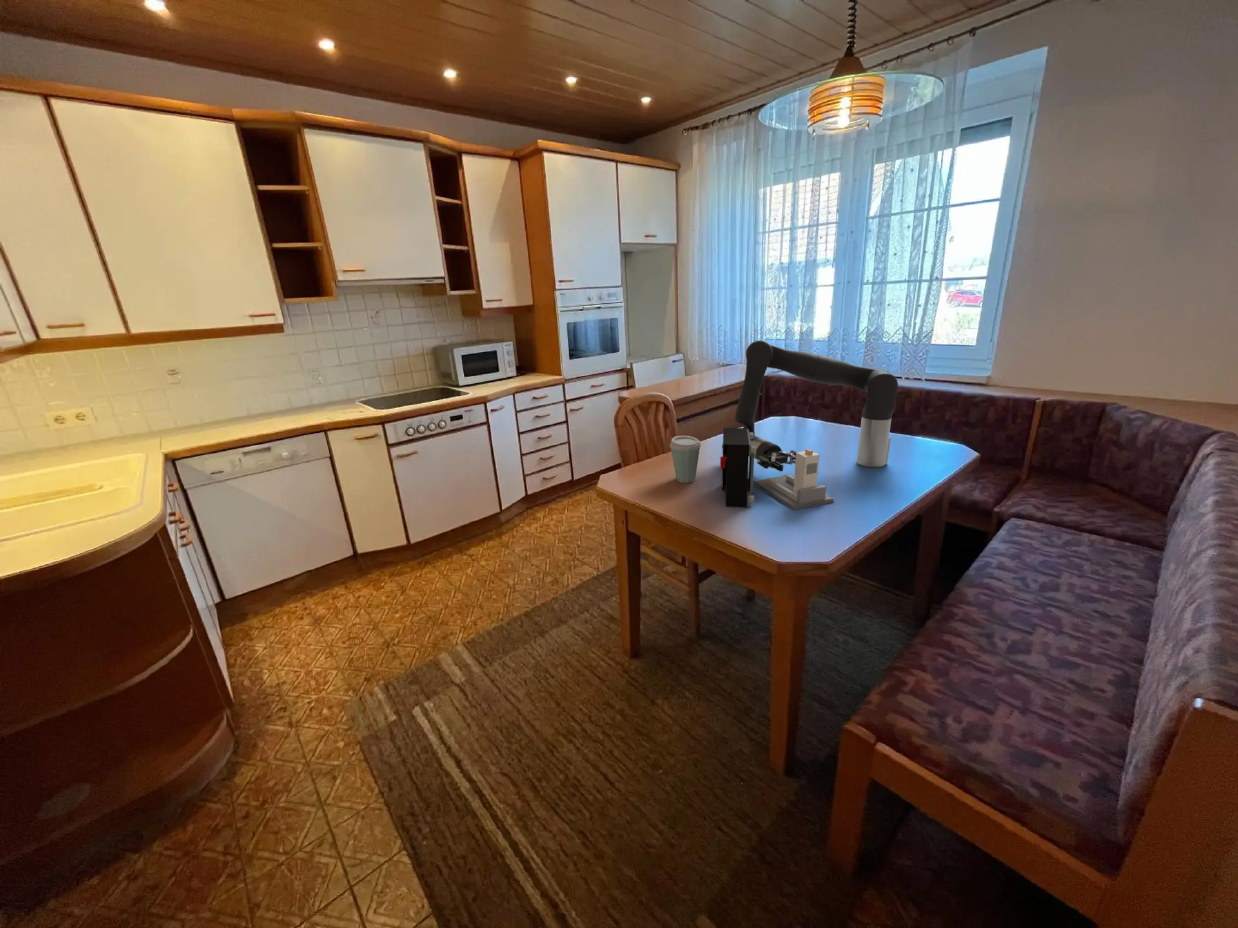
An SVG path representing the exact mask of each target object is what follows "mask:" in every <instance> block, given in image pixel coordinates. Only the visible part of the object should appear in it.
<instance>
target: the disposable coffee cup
mask: <svg viewBox="0 0 1238 928" xmlns="http://www.w3.org/2000/svg"><path fill="white" fill-rule="evenodd" d="M669 448H670V451H671V456H672V462H673V468H674V472H675V473H674V474H675V478H676V480H677V481H678V482H680V483H682V484H688V483H689V484H690V483H692V482H694V481H695V479H696V475H697V470H698V469H697V468H698V461H699V455H700V448H701V440H699V439H698V438H696V437H694V436H690V435H676V436H674V437H672V438H671V441H670V443H669Z"/></svg>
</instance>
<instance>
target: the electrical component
mask: <svg viewBox="0 0 1238 928" xmlns="http://www.w3.org/2000/svg"><path fill="white" fill-rule="evenodd" d="M722 431H723V432H722V446H721V449H722V456H720V462H719V463H720V465H719V466H720V467H719V468H720V469H721V471H722V475H721V477H722V478H721V484H720V486H721V490H722V491H725V507H726V508H745V509H746V508H748V507H750V506H749V505H750V504H754V503H755V497H754V495H753V492H754V491H753V490H754V489H753V488H754V468H755V458H754V453H755V451H756V447H755V445H753V442H752V441H751V440H750V439H753V438H754V434H753V432H750V433H749V429H747V428H743V427H723V430H722Z"/></svg>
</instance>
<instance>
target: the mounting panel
mask: <svg viewBox="0 0 1238 928" xmlns="http://www.w3.org/2000/svg"><path fill="white" fill-rule="evenodd" d="M794 477H795V476H793V475H792V474H786V475H780V476H774V477H768V478H763V479H758V480H757V479H756V480H753V486H756V487H757V488H759V489H760V490H762V491H763V492H765V493H767V494H768V495H769V496H771V497H772V498H775V499H776V501H777V500H778V501H779V502H781V503H782V504H784V505H785V506H787V507H789V508H790V509H791V510H792V511H795V510H800V509H805V508H806V509H807V508H810V507H816V506H820V505H826V504H831V503H834V501H835V500H834V499H835V498H833V497H832V496H830V495H828V494H827V486H825V485H824V484H821V485H817V486H814V487H809V488H804V489H798V492H797V494H796V493H794V492H793V490H794Z"/></svg>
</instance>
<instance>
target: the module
mask: <svg viewBox="0 0 1238 928" xmlns="http://www.w3.org/2000/svg"><path fill="white" fill-rule="evenodd" d="M796 452H797V453H796V460H795V461H796V463H795V466H794V476H793V477H794V490H793V492H794V493H796V494H797V492H798V489H804V488H809V487H814V486H818V476H819V475H818V474H819V467H820V466H819V465H820V464H819V463H820V454H819V453H817V452H815V451H813V450H812V449H810V448H806V449H804V450H803V451H796Z"/></svg>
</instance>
